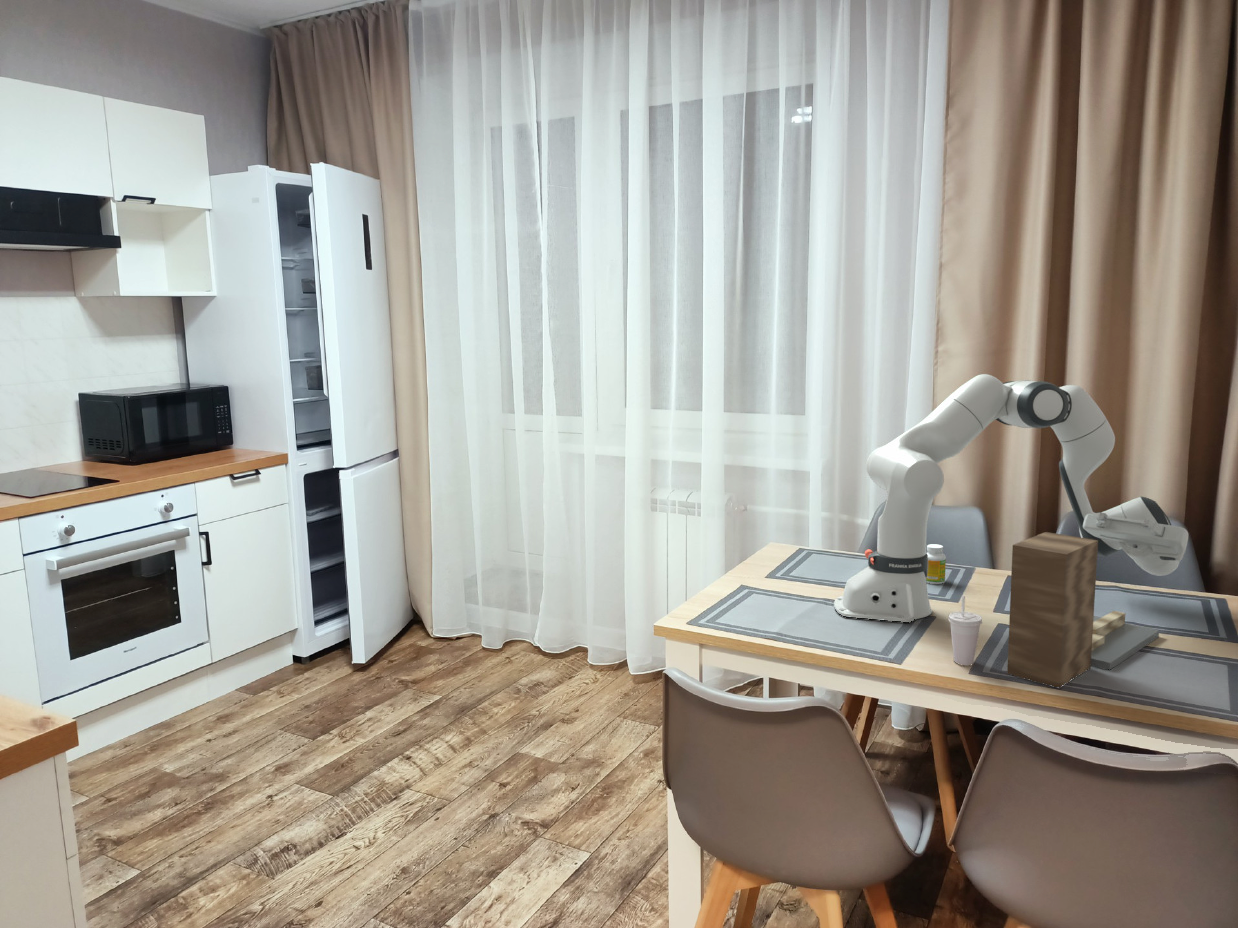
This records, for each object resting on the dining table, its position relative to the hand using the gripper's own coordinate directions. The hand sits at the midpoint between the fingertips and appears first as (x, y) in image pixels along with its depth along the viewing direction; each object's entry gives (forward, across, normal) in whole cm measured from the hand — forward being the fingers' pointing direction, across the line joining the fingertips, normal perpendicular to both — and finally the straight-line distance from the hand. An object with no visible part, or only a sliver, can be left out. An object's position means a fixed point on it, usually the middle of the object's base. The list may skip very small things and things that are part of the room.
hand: (1123, 519), depth 193 cm
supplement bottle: (-17, -47, +20) cm, 53 cm away
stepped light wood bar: (-2, 0, +26) cm, 26 cm away
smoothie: (+22, -13, +42) cm, 49 cm away
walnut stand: (+16, 0, +38) cm, 41 cm away
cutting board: (-3, 0, +27) cm, 27 cm away
